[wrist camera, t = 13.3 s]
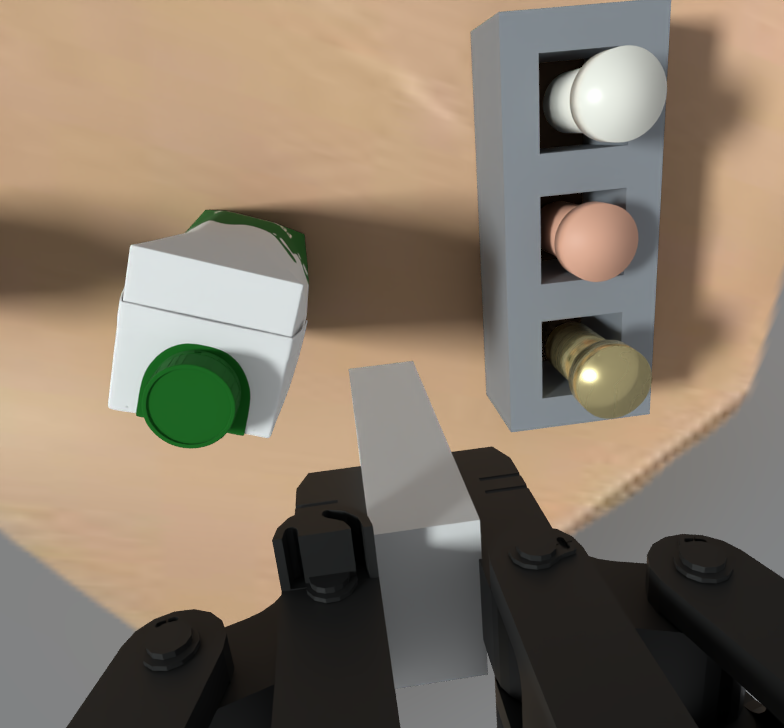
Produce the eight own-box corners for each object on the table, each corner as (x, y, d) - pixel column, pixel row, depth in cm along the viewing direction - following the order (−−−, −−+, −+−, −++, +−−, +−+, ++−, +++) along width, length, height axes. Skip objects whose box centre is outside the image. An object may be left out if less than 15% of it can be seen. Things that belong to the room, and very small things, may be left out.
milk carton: (174, 316, 46) (75, 437, 27) (194, 191, 43) (100, 230, 25) (294, 341, 48) (278, 472, 29) (321, 222, 45) (322, 282, 26)
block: (470, 31, 42) (498, 12, 35) (617, 19, 43) (671, -3, 36) (486, 394, 51) (511, 432, 44) (607, 378, 52) (649, 414, 45)
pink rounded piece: (524, 197, 44) (563, 208, 37) (590, 190, 44) (639, 199, 37) (526, 263, 45) (563, 285, 38) (589, 256, 45) (636, 277, 39)
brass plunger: (537, 318, 44) (577, 352, 37) (602, 311, 44) (653, 342, 38) (538, 380, 46) (577, 423, 39) (600, 372, 46) (650, 413, 39)
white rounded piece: (534, 65, 39) (580, 49, 32) (607, 58, 39) (669, 41, 32) (535, 145, 40) (579, 146, 33) (606, 138, 40) (664, 138, 34)
